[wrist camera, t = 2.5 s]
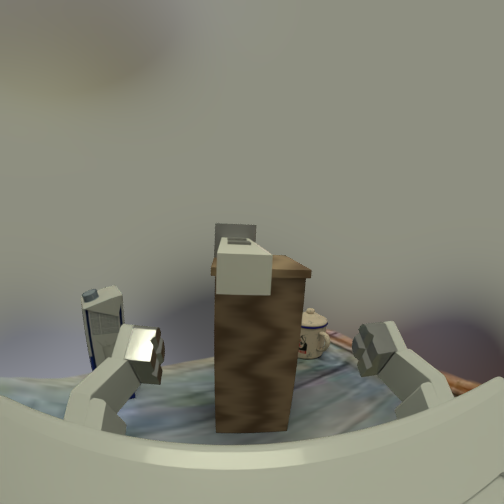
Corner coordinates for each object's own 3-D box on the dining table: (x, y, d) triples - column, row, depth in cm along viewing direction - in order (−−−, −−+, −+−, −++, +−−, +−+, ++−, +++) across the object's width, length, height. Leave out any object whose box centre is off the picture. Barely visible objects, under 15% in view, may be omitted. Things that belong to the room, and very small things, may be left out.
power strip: (202, 293, 20) (204, 224, 19) (215, 253, 45) (216, 223, 45) (283, 295, 20) (287, 228, 20) (251, 254, 46) (252, 224, 46)
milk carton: (135, 398, 41) (122, 293, 39) (101, 404, 36) (81, 296, 34) (125, 379, 46) (115, 283, 44) (95, 383, 42) (79, 285, 40)
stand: (212, 434, 34) (211, 267, 32) (214, 384, 49) (215, 252, 46) (290, 432, 35) (311, 270, 33) (274, 384, 50) (285, 255, 48)
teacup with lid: (280, 349, 67) (284, 306, 66) (307, 342, 72) (312, 302, 70) (311, 368, 57) (317, 321, 56) (338, 358, 61) (345, 314, 60)
